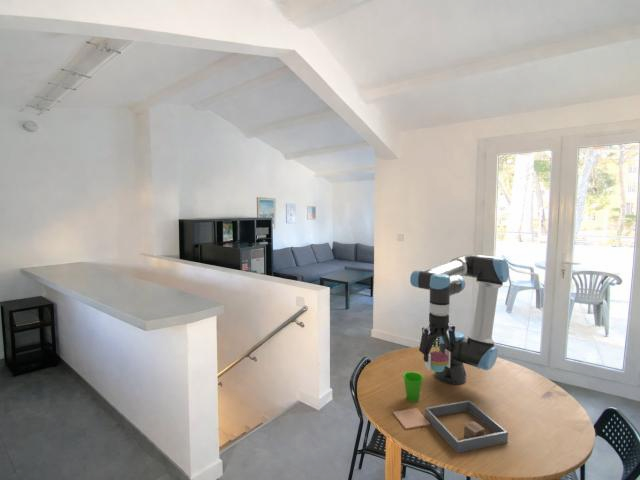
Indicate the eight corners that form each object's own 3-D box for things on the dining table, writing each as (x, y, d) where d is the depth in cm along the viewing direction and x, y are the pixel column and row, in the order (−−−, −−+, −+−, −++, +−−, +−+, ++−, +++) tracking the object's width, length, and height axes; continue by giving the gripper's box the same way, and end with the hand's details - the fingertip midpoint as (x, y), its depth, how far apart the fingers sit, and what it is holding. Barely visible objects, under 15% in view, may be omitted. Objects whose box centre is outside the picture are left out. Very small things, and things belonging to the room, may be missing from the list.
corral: (468, 409, 149) (469, 400, 148) (507, 442, 128) (507, 432, 127) (424, 416, 143) (425, 407, 143) (457, 452, 123) (457, 442, 122)
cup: (423, 405, 151) (424, 382, 150) (402, 403, 153) (403, 380, 152) (422, 394, 160) (422, 372, 159) (402, 392, 162) (402, 370, 161)
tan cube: (473, 433, 133) (473, 421, 133) (484, 441, 128) (484, 428, 128) (463, 436, 131) (464, 424, 131) (474, 445, 126) (475, 432, 126)
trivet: (416, 409, 149) (416, 408, 149) (430, 425, 138) (430, 423, 138) (393, 413, 146) (393, 411, 146) (405, 429, 135) (405, 428, 135)
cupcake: (423, 365, 142) (424, 337, 141) (443, 364, 143) (443, 336, 141) (431, 375, 133) (432, 345, 132) (452, 374, 134) (453, 344, 133)
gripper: (456, 308, 142) (454, 360, 144) (410, 312, 137) (409, 366, 139) (468, 313, 135) (466, 368, 137) (420, 318, 129) (419, 375, 132)
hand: (437, 367), depth 138 cm, fingers closed on cupcake, 8 cm apart
